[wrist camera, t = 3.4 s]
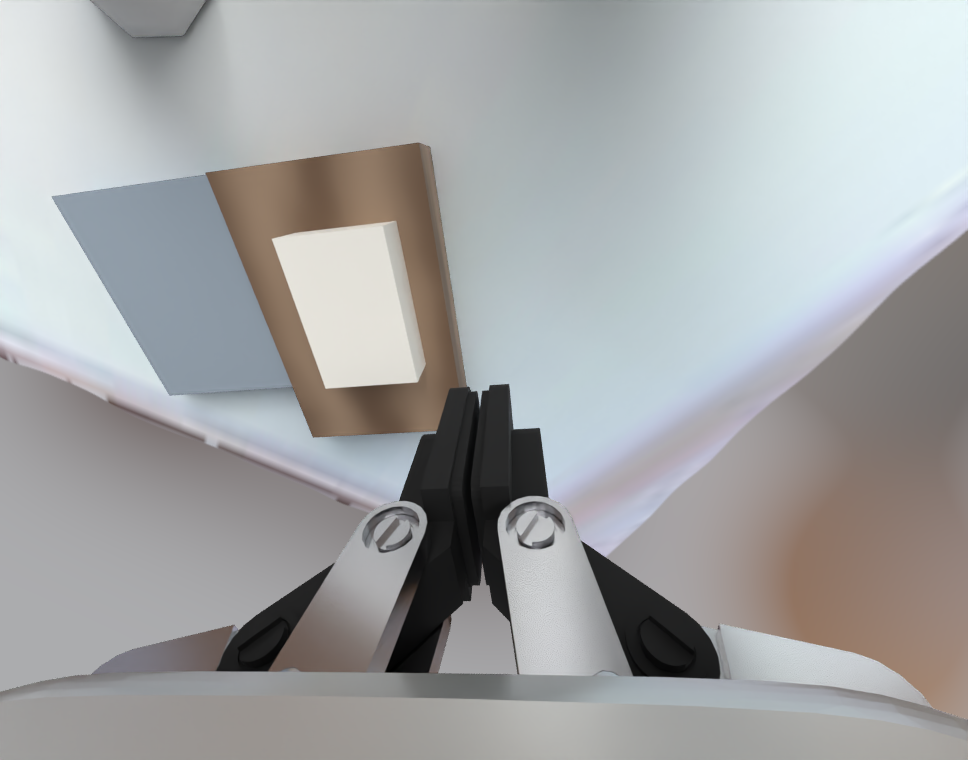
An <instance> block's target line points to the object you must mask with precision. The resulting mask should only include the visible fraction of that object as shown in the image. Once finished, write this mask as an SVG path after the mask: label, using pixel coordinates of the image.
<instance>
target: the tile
mask: <svg viewBox="0 0 968 760" xmlns="http://www.w3.org/2000/svg"><path fill="white" fill-rule="evenodd" d="M272 241H273V244H274V247H275V249H276V252H277V255H278V258H279V260H280V263H281V266H282V269H283V272H284V274H285V277H286V280H287V283H288V285H289V288H290V291H291V294H292V297H293V299H294V302H295V305H296V308H297V310H298V313H299V316H300V319H301V322H302V324H303V327H304V330H305V333H306V335H307V338H308V341H309V344H310V347H311V349H312V352H313V355H314V358H315V360H316V363H317V366H318V369H319V372H320V374H321V377H322V380H323V383H324V386H325V388H326V389H328V388H343V387H357V386H372V385H386V384H401V383H415V382H418V381H419V378H420V376H421V374H422V372H423V370H424V367H425V365H426V363H425V358H424V353H423V348H422V343H421V339H420V334H419V329H418V324H417V319H416V314H415V310H414V305H413V300H412V295H411V290H410V285H409V280H408V276H407V271H406V266H405V261H404V256H403V251H402V246H401V242H400V237H399V232H398V227H397V222H396V221H391V222H383V223H374V224H366V225H357V226H349V227H340V228H332V229H324V230H315V231H307V232H298V233H293V234H289V235H285V236H281V237H277V238H273V239H272Z"/></svg>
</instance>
